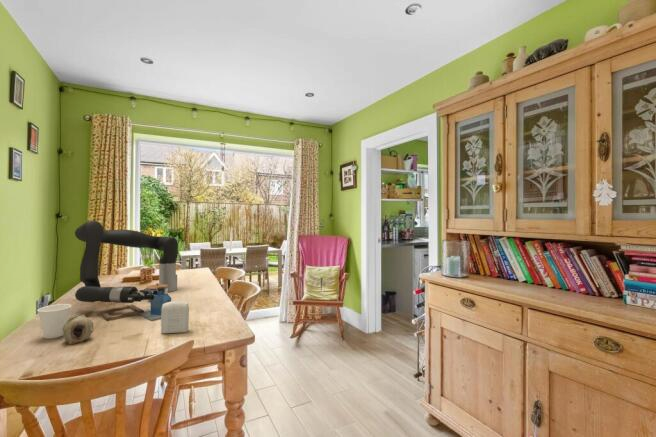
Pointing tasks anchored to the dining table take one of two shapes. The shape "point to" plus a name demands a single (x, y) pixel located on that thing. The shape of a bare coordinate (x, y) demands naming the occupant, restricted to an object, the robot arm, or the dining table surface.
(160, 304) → the perfume bottle
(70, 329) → the hollow beige lump
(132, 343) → the dining table surface
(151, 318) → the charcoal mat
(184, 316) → the photo printer
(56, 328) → the cup
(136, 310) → the walnut collar
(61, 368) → the dining table surface
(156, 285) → the lidded jar
